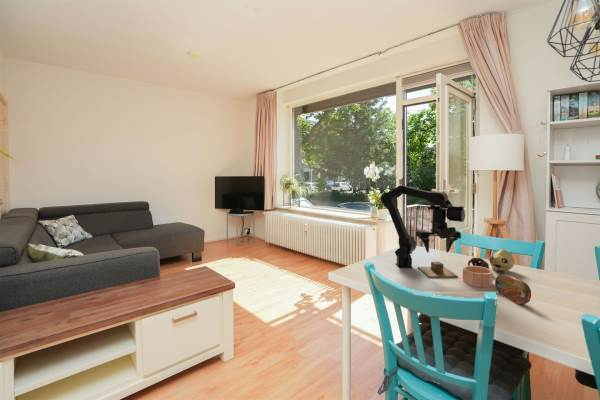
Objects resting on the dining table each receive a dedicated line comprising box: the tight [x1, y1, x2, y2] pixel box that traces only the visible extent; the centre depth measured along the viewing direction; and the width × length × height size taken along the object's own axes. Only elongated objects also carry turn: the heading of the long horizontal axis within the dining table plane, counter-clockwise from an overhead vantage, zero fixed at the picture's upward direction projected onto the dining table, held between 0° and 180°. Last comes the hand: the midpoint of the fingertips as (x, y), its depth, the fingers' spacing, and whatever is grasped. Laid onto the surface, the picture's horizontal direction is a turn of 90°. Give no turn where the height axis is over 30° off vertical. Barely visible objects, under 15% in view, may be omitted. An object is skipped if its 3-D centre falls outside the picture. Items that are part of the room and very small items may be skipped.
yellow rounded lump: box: [488, 248, 515, 274], centre depth 147 cm, size 10×12×11 cm
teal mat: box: [415, 267, 462, 280], centre depth 144 cm, size 15×15×1 cm
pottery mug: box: [467, 256, 490, 269], centre depth 146 cm, size 12×10×8 cm
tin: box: [494, 273, 532, 305], centre depth 116 cm, size 15×3×8 cm, turn 5°
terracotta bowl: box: [462, 265, 494, 288], centre depth 132 cm, size 11×11×6 cm
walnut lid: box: [417, 261, 459, 278], centre depth 144 cm, size 13×13×5 cm
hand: (437, 252), depth 143 cm, fingers open, 9 cm apart
